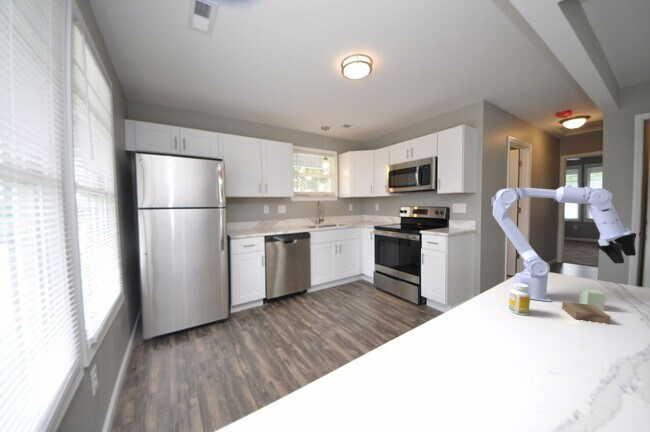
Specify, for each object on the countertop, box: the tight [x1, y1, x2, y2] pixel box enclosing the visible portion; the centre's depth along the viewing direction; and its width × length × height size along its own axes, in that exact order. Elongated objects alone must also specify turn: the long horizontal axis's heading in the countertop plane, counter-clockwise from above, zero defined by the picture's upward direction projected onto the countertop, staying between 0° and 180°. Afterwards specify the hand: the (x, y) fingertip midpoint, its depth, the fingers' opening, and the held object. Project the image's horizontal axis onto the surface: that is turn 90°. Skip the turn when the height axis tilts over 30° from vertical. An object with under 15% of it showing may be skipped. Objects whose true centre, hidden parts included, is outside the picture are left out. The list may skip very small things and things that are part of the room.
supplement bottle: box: [508, 282, 531, 316], centre depth 83 cm, size 5×5×10 cm
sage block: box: [578, 287, 606, 312], centre depth 86 cm, size 4×4×6 cm
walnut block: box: [561, 301, 611, 325], centre depth 80 cm, size 8×8×3 cm
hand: (625, 259), depth 82 cm, fingers open, 7 cm apart
